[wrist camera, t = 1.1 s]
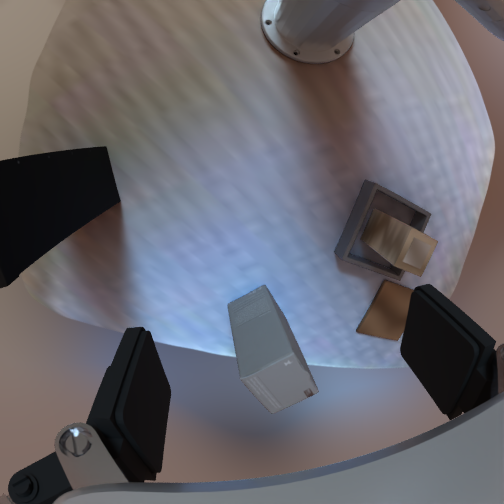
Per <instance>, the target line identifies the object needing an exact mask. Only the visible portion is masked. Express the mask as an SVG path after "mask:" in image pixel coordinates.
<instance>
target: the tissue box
mask: <svg viewBox="0 0 504 504" xmlns="http://www.w3.org/2000/svg"><path fill="white" fill-rule="evenodd" d="M119 202H120V198H119V194H118V191H117V187H116V183H115V179H114V176H113V172H112V168H111V164H110V160H109V156H108V152H107V148H106V146H104V147H93V148H82V149H73V150H65V151H57V152H49V153H42V154H36V155H29V156H23V157H18V158H12V159H7V160H2V161H0V288H3V287H6V286H8V285H10V284H11V283H12V282H13V281H14V280H15V279H16V278H18V277H19V274H20V273H21V272H23V271H24V270H25V269H26V268H28V267H29V266H30V265H31V264H33V263H34V262H35V261H36V260H38V259H39V258H40V257H42V256H43V255H44V254H45V253H47V252H48V251H49V250H51V249H52V248H53V247H55V246H56V245H57V244H59V243H60V242H61V241H63V240H64V239H65V238H67V237H68V236H70V235H71V234H72V233H74V232H75V231H77V230H78V229H80V228H81V227H82V226H84V225H85V224H87V223H88V222H90V221H91V220H93V219H94V218H96V217H97V216H99V215H100V214H102V213H103V212H105V211H106V210H108V209H109V208H111V207H112V206H114V205H115V204H117V203H119Z"/></svg>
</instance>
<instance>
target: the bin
mask: <svg viewBox="0 0 504 504" xmlns="http://www.w3.org/2000/svg"><path fill="white" fill-rule="evenodd" d="M376 190H378V191H380V192H381V193H383V194H385V195H387V196H389V197H391V198H393V199H395V200H397V201H399V202H400V203H402V204H404V205H406V206H408V207H410V208H411V209H413V210H415V211H416V213H415V215H414V218H413V220H412V222H411V225H410V226H411V227H413V228H415V229H417V230H418V231H420V232H422V233H423V232H424V230H425V228H426V225H427V223H428V221H429V218H430V216H431V214H430V213H429V212H427V211H425V210H424V209H422V208H420V207H419V206H417V205H415V204H413V203H412V202H410V201H408V200H406V199H404V198H403V197H401V196H399V195H397V194H395V193H393V192H392V191H390V190H388V189H386V188H384V187H382V186H380V185H378V184H376V183H374V182H371V181H368V180H365V182H364V184H363V187H362V189H361V191H360V194H359V196H358V199H357V201H356V203H355V206H354V208H353V210H352V213H351V215H350V217H349V220H348V222H347V224H346V227H345V229H344V231H343V233H342V235H341V238H340V240H339V242H338V244H337V247H336V249H335V251H334V252H335V253H336V254H337V255H338V256H339V257H340V259H341V260H344V261H347V262H350V263H352V264H355V265H358V266H361V267H364V268H366V269H369V270H372V271H375V272H377V273H380V274H383V275H386V276H388V277H391V278H394V279H397V280H399V281H400V280H401V278H402V276H403V274H404V272H405V270H403V269H400V268H398V267H395V266H393V265H391V267H390V268H388V267H385V266H382V265H380V264H377V263H375V262H372V261H369V260H367V259H364V258H361V257H359V256H356V255H353V254H351V253H349V252H350V250H351V247H352V245H353V243H354V241H355V239H356V237H357V234H358V232H359V230H360V228H361V225H362V223H363V221H364V219H365V216H366V214H367V212H368V209H369V207H370V205H371V202H372V200H373V198H374V195H375V193H376Z"/></svg>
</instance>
